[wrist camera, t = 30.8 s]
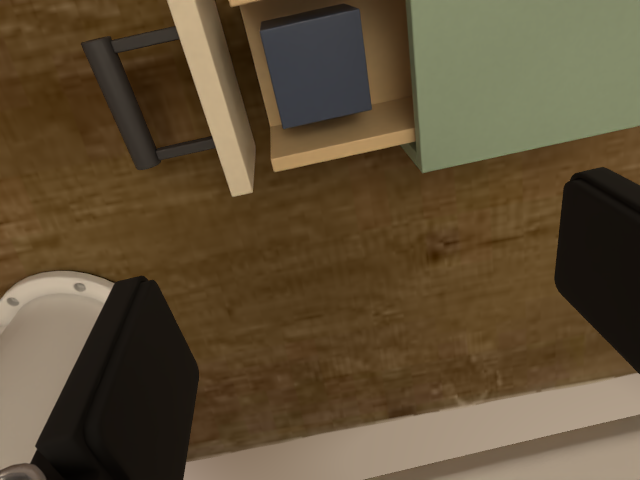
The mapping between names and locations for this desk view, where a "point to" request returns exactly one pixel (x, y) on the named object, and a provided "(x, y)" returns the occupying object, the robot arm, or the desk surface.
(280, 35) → the block
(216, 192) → the desk surface
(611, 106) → the cabinet
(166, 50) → the desk surface
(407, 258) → the desk surface
